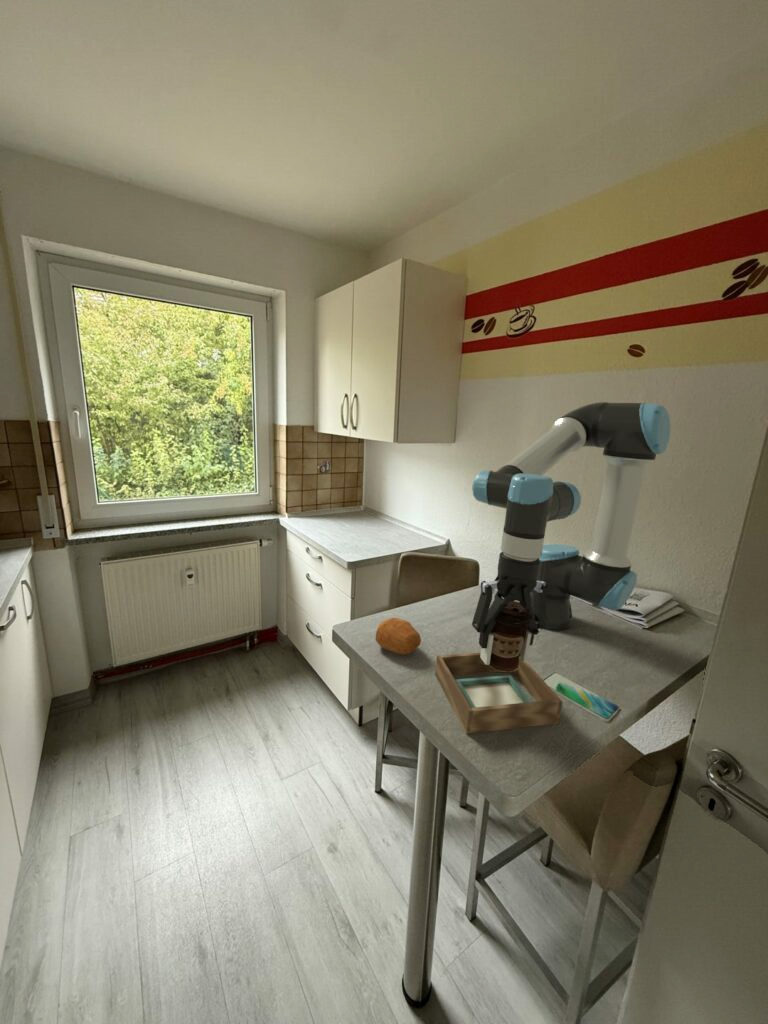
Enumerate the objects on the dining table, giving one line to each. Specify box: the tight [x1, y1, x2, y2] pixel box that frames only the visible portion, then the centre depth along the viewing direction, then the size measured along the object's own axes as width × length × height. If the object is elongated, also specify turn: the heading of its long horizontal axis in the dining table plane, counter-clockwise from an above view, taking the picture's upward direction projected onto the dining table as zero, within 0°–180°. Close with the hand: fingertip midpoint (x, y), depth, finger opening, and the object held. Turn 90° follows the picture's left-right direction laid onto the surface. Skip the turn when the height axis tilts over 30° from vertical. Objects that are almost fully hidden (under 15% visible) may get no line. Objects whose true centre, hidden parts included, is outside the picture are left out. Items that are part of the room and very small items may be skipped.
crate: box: [434, 652, 564, 735], centre depth 88 cm, size 20×18×5 cm
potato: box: [375, 617, 422, 656], centre depth 103 cm, size 9×11×8 cm
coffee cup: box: [489, 600, 532, 673], centre depth 82 cm, size 9×8×13 cm
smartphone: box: [542, 672, 620, 723], centre depth 91 cm, size 7×1×15 cm
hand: (503, 659), depth 84 cm, fingers closed on coffee cup, 8 cm apart
